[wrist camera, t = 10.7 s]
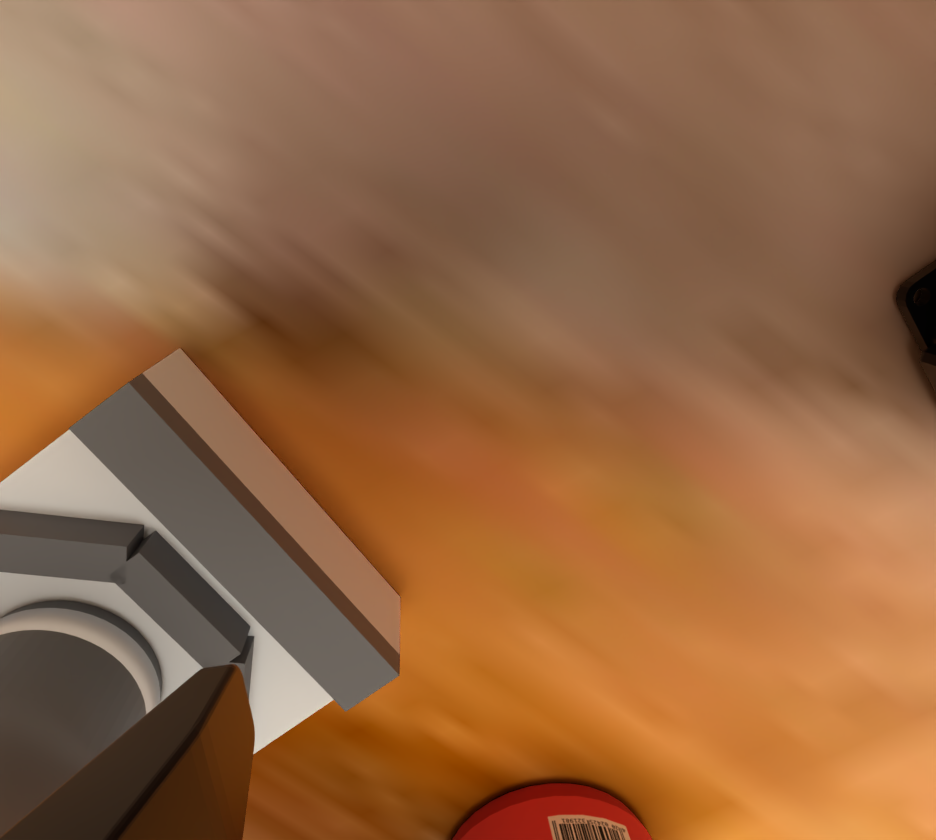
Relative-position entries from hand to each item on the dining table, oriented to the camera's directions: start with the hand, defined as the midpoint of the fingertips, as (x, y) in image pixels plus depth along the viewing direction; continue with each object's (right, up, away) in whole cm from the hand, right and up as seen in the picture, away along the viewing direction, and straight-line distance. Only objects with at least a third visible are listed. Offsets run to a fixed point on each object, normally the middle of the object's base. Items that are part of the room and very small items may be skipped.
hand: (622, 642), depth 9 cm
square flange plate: (-12, -3, +13) cm, 18 cm away
